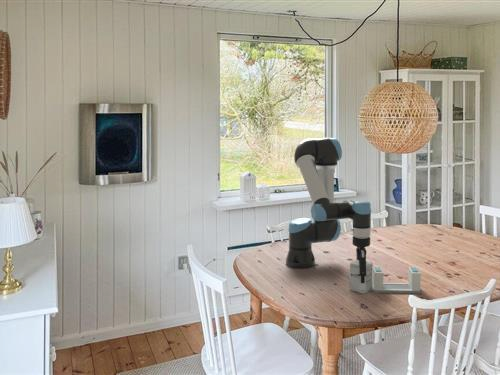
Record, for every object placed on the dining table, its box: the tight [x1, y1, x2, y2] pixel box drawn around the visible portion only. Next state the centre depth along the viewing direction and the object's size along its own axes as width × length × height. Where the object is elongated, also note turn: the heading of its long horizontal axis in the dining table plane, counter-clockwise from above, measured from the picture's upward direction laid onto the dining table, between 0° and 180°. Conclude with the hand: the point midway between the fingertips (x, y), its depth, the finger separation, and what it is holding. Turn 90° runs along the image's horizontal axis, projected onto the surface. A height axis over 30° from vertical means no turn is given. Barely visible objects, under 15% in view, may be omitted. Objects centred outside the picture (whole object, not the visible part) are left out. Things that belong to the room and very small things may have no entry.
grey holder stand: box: [372, 266, 423, 295], centre depth 206 cm, size 20×9×9 cm, turn 83°
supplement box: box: [349, 260, 373, 295], centre depth 207 cm, size 7×7×13 cm
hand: (360, 284), depth 207 cm, fingers closed on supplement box, 10 cm apart
